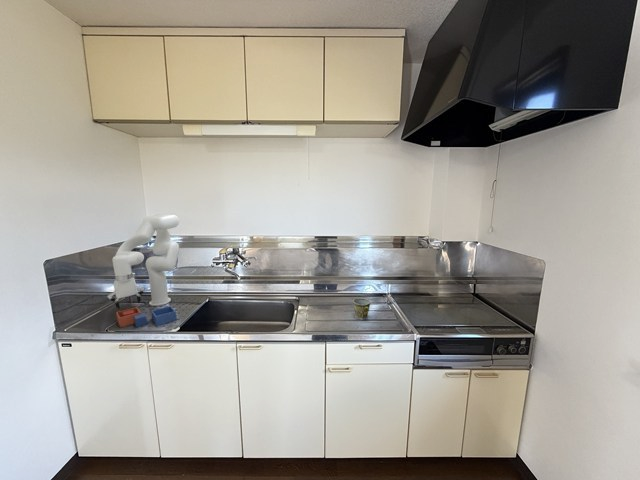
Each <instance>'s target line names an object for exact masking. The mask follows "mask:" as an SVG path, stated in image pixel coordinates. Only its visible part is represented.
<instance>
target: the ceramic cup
mask: <svg viewBox="0 0 640 480" xmlns="http://www.w3.org/2000/svg"><path fill="white" fill-rule="evenodd" d="M352 304H353V311H354V317H355V318H356V319H357V320H360V321H364V320H366V319H367V318H368V314H369V312H370V306H371V300H370V299H367V298H364V297H358V298H354V299H353V300H352Z"/></svg>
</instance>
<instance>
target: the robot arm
mask: <svg viewBox="0 0 640 480" xmlns="http://www.w3.org/2000/svg"><path fill="white" fill-rule="evenodd" d="M179 224H180V219H179V216H178V215H176V214H155V215H153V216H152V215H151V216H146V217H145V218H144V219H143V220H142V221H141V224H140V226H139V227H138V229H137V231H136V233H135V234H134V235H133V236H131V237H129V238H128V239H127V240H125V241H124V242H123V243H122V244H120V246H119V248H118V249H117V251H116V253H115V255H114V256H113V257H112V259H111V261H112V266H113V272H114V278H115V280H114V281H113V288H114V291H113V292H110V293H109V294H107V298H108V299H109V300H110V301H111V302H114V304H115V307H116V308H117V309H118V310H120V308H121V306H120V302H119V300H120V299H124V298H128V297H131V296H136V301H137V303H138V304H141V301H142V299H141V296H142V295H143V294H144V291H145V287H144V286H140V285H137V283H136V280H135V277H134V276H136V273H135V272H132V267H133V266H137V265H140V264H141V263H143V261H144V259H145V256H144V254H143V252H141V251H133V250H134V249H135V248H137V247H140V246H143V245H145V244H147V243H149V242H151V240H152V238H153V237H154V234H155V232H156V235H155V239H154V242H153V246H152V254H154V256H150V257H148V258H147V259H146V261H145V267H146V271H147V275H148V279H149V288H150V289H149V290H150V296H151V297H150V298H151V300H150V301H149V302H148V303H149V306H152V307H158V306H159V307H160V306H164V305H167V304H169V303H170V302H171V301H172V298H171V297H169V292H168V283H167V276H166V273H165V272H172V271H173V270H174V269H175V267H176V265H177V261H178V258H179V253H180V245H179V243H178V242H176V241H174V240H171V238H172V234H171V232H170V229H174V228H176V227H178V226H179ZM155 255H157V256H155ZM138 290H140V291H138ZM113 296H115V297H113Z"/></svg>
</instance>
